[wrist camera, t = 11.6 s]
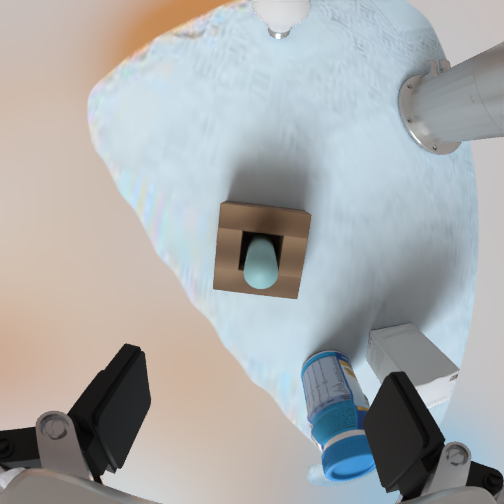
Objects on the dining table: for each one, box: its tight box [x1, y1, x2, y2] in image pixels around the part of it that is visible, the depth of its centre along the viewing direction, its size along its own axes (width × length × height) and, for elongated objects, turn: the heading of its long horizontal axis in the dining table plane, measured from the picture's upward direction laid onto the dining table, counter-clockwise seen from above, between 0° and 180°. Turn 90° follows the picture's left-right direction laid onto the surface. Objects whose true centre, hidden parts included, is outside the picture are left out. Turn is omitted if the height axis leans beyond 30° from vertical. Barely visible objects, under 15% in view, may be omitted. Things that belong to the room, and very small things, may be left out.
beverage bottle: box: [301, 350, 376, 481], centre depth 30 cm, size 8×8×20 cm
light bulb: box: [253, 0, 311, 39], centre depth 23 cm, size 7×7×11 cm
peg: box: [244, 233, 278, 289], centre depth 30 cm, size 3×3×12 cm
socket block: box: [213, 201, 311, 299], centre depth 33 cm, size 10×10×5 cm
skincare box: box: [366, 323, 460, 409], centre depth 32 cm, size 8×6×15 cm
